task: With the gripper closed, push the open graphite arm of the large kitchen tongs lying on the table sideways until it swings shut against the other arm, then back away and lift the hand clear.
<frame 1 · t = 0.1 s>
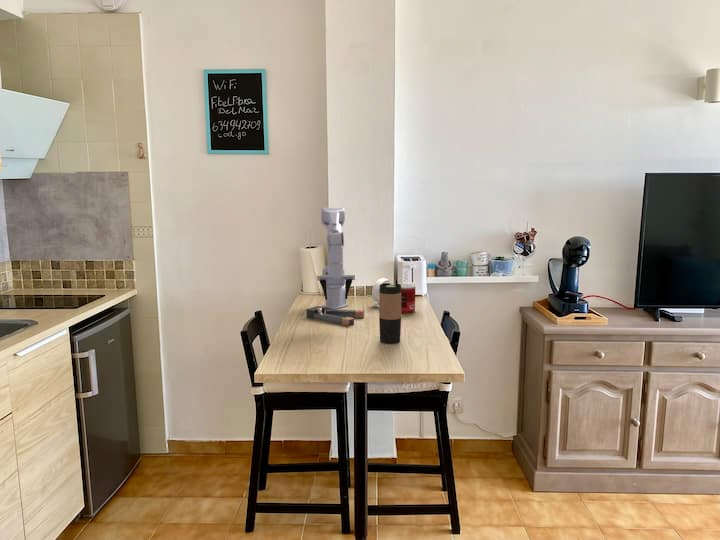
hand: (336, 299, 214), 10 cm above the table, tool pointing down, fingers open, 7 cm apart
canned food: (406, 311, 238), on the table
tongs base: (319, 317, 228), on the table
travel mug: (390, 341, 196), on the table
tong arm: (344, 313, 228), point 1 cm above the table, hinge at 30.0°
headphone stand: (380, 306, 247), on the table
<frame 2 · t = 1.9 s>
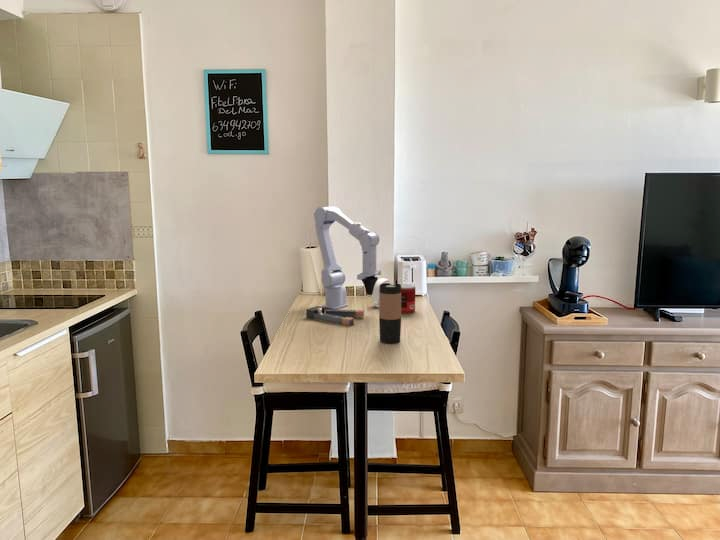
hand: (369, 294, 232), 8 cm above the table, tool pointing down, fingers closed
nothing on the table moved.
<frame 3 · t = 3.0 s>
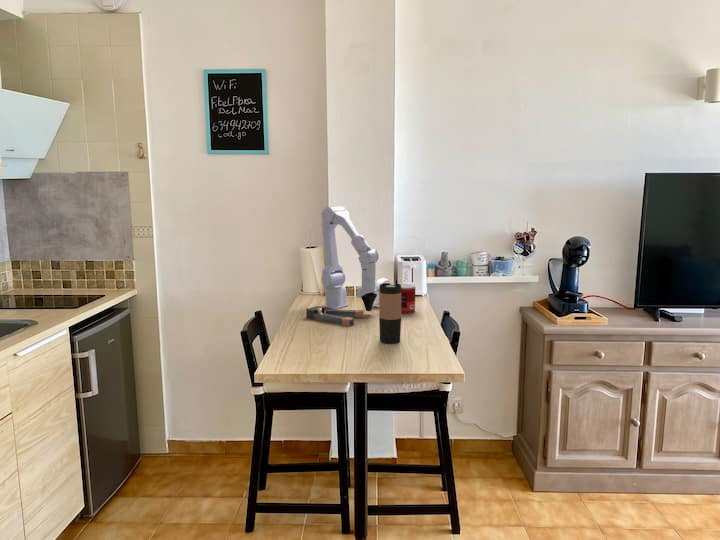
hand: (368, 310, 233), 1 cm above the table, tool pointing down, fingers closed
nothing on the table moved.
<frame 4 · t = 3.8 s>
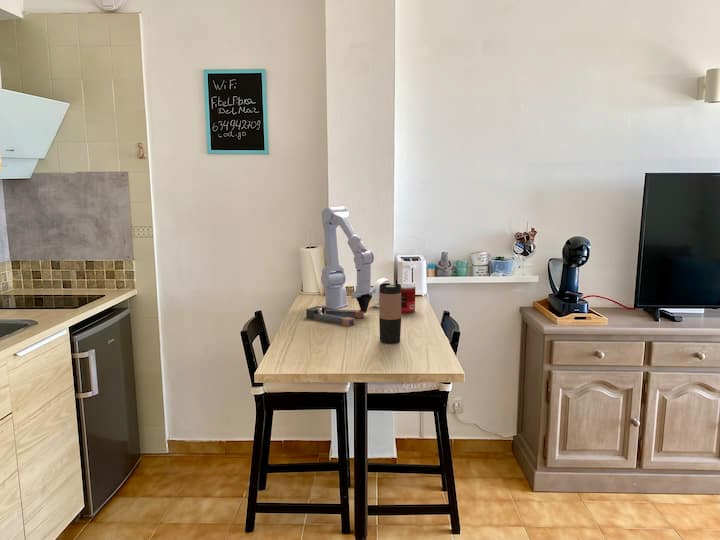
hand: (363, 312, 230), 1 cm above the table, tool pointing down, fingers closed, pressing on tong arm
tong arm: (344, 313, 228), point 1 cm above the table, hinge at 29.9°, touching gripper
everything else where it was.
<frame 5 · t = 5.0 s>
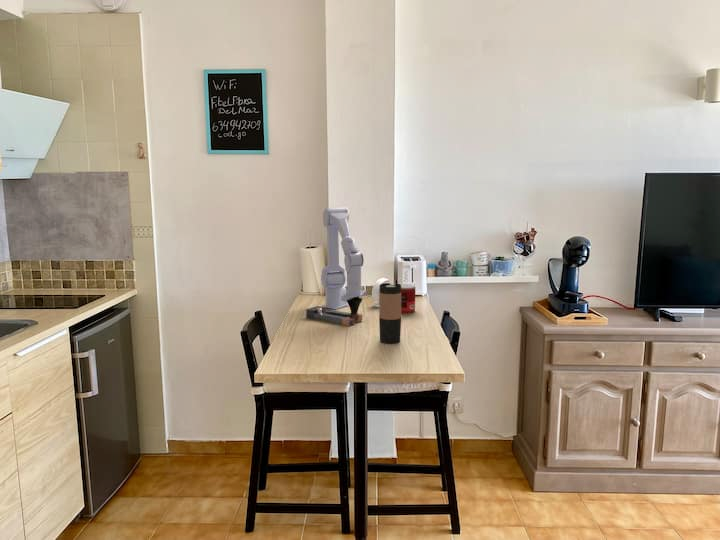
hand: (354, 315, 225), 1 cm above the table, tool pointing down, fingers closed
tong arm: (343, 315, 225), point 1 cm above the table, hinge at 7.9°, touching gripper
everything else where it was.
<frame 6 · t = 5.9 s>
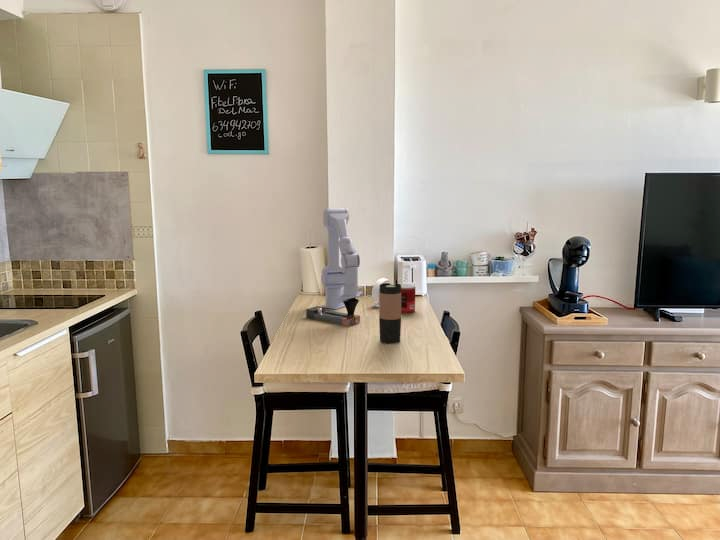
hand: (350, 316, 223), 1 cm above the table, tool pointing down, fingers closed
tong arm: (342, 316, 223), point 1 cm above the table, hinge at -0.2°, touching gripper
everything else where it was.
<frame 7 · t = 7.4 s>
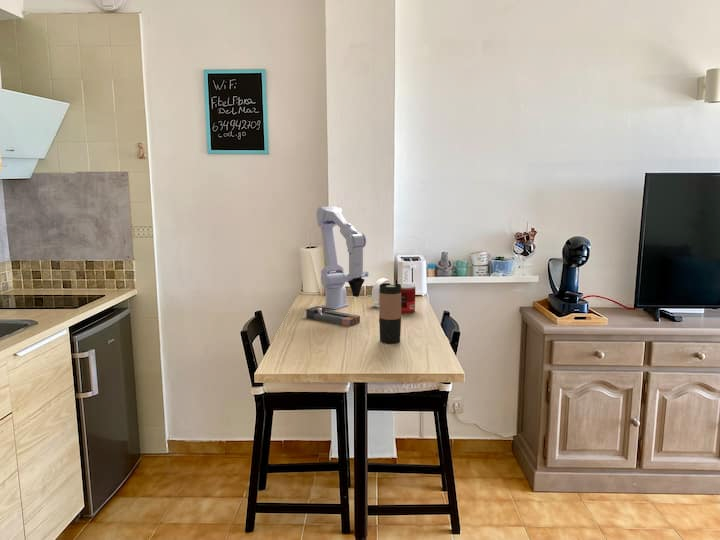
hand: (355, 296, 228), 9 cm above the table, tool pointing down, fingers closed
tong arm: (342, 316, 223), point 1 cm above the table, hinge at -0.2°
everything else where it was.
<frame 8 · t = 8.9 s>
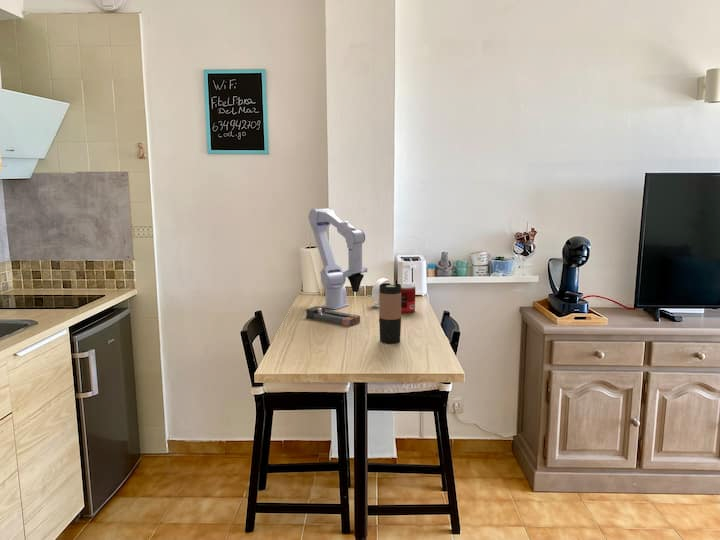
hand: (355, 291, 233), 9 cm above the table, tool pointing down, fingers closed
nothing on the table moved.
at the end: tong arm at +0° (first picture: +30°) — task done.
